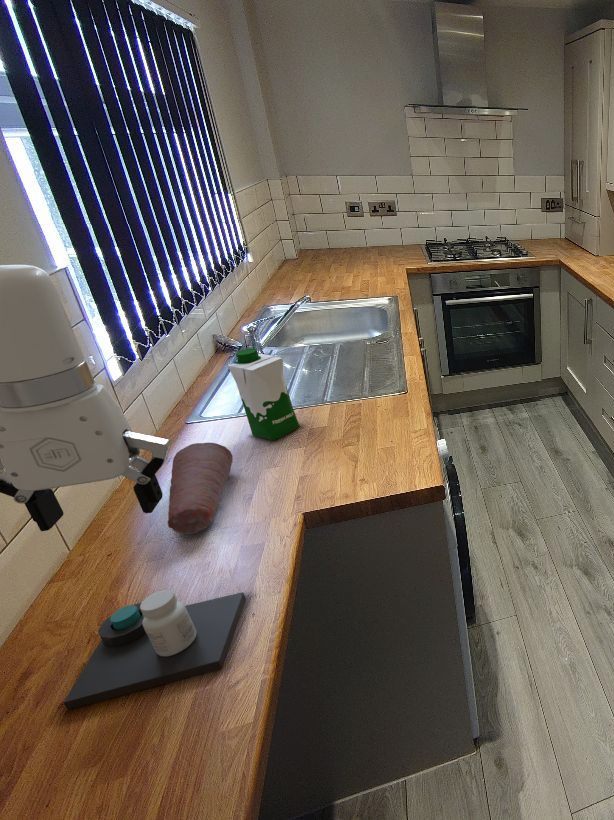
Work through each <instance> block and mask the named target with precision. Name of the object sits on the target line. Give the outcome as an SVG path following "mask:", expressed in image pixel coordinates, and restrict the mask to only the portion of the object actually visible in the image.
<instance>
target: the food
mask: <svg viewBox="0 0 614 820" xmlns="http://www.w3.org/2000/svg"><path fill="white" fill-rule="evenodd" d="M233 457H234V456H233V454H232V451H231V450H230V449H229V448H228V447H226V446H224V445H221V444H220V443H217V442H196V443H191V444H189V445H187V446H185V447H183V448H181V449H180V450H178V451H177V452H176V453H175V455H174V457H173V459H172V464H171V465H172V467H171V478H170V487H169V498H168V499H169V500H168V501H169V502H168V512H167V526H168V528H169V529H171V530H173V532H175V533H177V534H181V535H194V534H197V533H199V532H201V531H203V530H205V529H206V528H208V527H210V526H212V525H213V523H214V519H215V516H216V512H217V510H218V508H219V505H220V501H221V498H222V495H223V494H224V493H223V492H224V490H225V487H226V485H227V482H228V480H229V479H228V478H229V475H230V472H231V468H232V465H233V461H234V460H233V459H234V458H233Z"/></svg>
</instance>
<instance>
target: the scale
mask: <svg viewBox="0 0 614 820" xmlns="http://www.w3.org/2000/svg"><path fill="white" fill-rule="evenodd" d="M246 599H247V598H246V596H245V593H244V591H241V592H237V593H234V594H233V593H232V594H229V595H225V596H222V597H216V598H214V599H209V600H204V601H200V602H195V603H191V604H187V605H185V607H186V609H187V612H188V614H189V616H190V618H191V620H192V622H193V625H194V627H195V629H196V632H197V634H196V638H195V639H194V641H193V642H192V643H191V644H190V645H189V646H188V647H187V648H186V649H184V650H182V651H181V652H179V653H177V654H174V655H171V656H160V655H158V654H157V653H156V651H155V649H154V647H153V645H152V643H151V641H150V639H149V637H148V635H147V633H146V631H145V629H144V627H143V624H142V623H143V619H144V616H143V614H142V612H141V609H140V605H141V603H142V602H138V603H134V604H133V605H134V606H136V607H137V609H138V611H139V613H140V615H141V617H140V619H139V620H138V621H137V622H136V623H135V624H133V625H131V626H130V627H128V628H126V629H122V630H116V629H114V627H113V625H112V623H111V621H110V617H111V616H112V615H113V614H111V615H110V616H109V617H107V618H106V619H105V620H104V621H103V623H102V624H101V625H100V627H99V629H98V635H99V637H100V639H101V640H100V641H99V643H98V645H97V646H96V648H95V650H94V651H93V652H92V655H91V656H90V658H89V659H88V661H87V663H86V665H85V666H84V668H83V670H82V671H81V673H80V674H79V676H78V678H77V679H76V680H75V682H74V684H73V686H72V688H71V689H70V691H69V693H68V694H67V696H66V697H65V699H64V701H63V705H64V706H65V708H66V709H67V710H68V711H70V710H73V709H77V708H80V707H84V706H89V705H92V704H96V703H100V702H103V701H107V700H111V699H114V698H118V697H121V696H125V695H129V694H132V693H136V692H140V691H143V690H147V689H151V688H154V687H159V686H163V685H166V684H170V683H173V682H177V681H181V680H185V679H188V678H192V677H195V676H199V675H202V674H207V673H210V672H214V671H217V670H221V669H223V667H224V664H225V661H226V658H227V655H228V652H229V649H230V646H231V644H232V641H233V638H234V635H235V632H236V629H237V626H238V623H239V620H240V617H241V614H242V612H243V608H244V605H245V603H246Z"/></svg>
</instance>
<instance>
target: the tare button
mask: <svg viewBox="0 0 614 820" xmlns="http://www.w3.org/2000/svg"><path fill="white" fill-rule="evenodd" d="M111 615H112V616H111ZM111 615H110V616H111V617H110V616H109V617H110V621H111V623H112V625H113V627H114V629H116V630H122V629H126V628H128V627H130V626H131V625H133V624H135V623H136V622H137V621H138V620H139V619H140V617H141V615H140V613H139V611H138V609H137V607H136V606H134V604H130V605H126V606H123V607H121V608H119V609H116V611H115V612H113V614H111Z"/></svg>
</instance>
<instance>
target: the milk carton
mask: <svg viewBox="0 0 614 820" xmlns="http://www.w3.org/2000/svg"><path fill="white" fill-rule="evenodd" d="M235 356H236V360H237V361H234V362H232V363H230V364H227V367H228V369H229V372H230V373H231V376H232V377H233V380H234V382H235V384H236V388H237V390H238V393H239V396H240V400H241V403H242V406H243V408H244V412H245V414H246V418H247V421H248V425H249V429H250V432H251V436H254V437H258V438H262V439H265V440H269V441H273V442H275V441H277V440H279V439H280V438H282V437H284V436H287V435H288V434H289V433H291V432H293V431H295V430H297V429H298V428H300V427H301V426H300V423H299V420H298V417H297V415H296V412H295V409H294V407H293V403H292V400H291V396H290V393H289V389H288V386H287V382H286V379H285V374H284V358H283V357H280V356H276V355H271V354H265V353H259V352H258V350H257V349H256V348H245V349H241V350H239V351H236V353H235Z"/></svg>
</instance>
